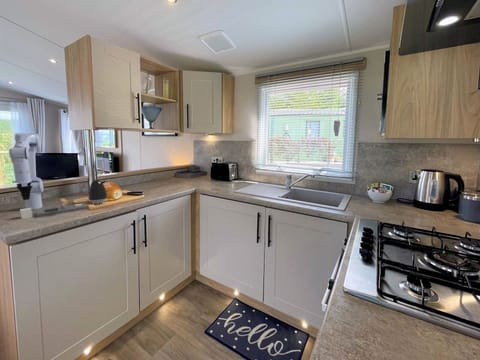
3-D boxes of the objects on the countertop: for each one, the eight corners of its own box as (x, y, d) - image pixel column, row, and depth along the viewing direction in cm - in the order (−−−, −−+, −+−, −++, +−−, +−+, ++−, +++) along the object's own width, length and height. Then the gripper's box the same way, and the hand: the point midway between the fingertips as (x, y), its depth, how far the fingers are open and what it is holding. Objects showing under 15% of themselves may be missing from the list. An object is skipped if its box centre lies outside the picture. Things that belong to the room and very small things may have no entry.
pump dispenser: (104, 205, 141) (102, 180, 139) (85, 205, 140) (83, 181, 137) (110, 201, 151) (108, 178, 149) (93, 201, 150) (91, 178, 147)
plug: (21, 218, 117) (20, 209, 116) (32, 217, 119) (30, 207, 118) (22, 220, 114) (20, 211, 113) (32, 218, 117) (31, 209, 116)
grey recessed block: (36, 214, 122) (34, 204, 121) (85, 206, 137) (84, 197, 136) (37, 219, 116) (36, 207, 115) (88, 210, 131) (87, 200, 130)
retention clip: (63, 204, 120) (63, 201, 120) (59, 201, 125) (58, 198, 125) (68, 203, 121) (68, 200, 121) (64, 200, 127) (63, 198, 127)
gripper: (10, 170, 117) (15, 196, 120) (11, 174, 107) (15, 202, 110) (29, 169, 122) (33, 194, 125) (31, 172, 112) (35, 199, 114)
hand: (26, 198), depth 117 cm, fingers open, 7 cm apart
